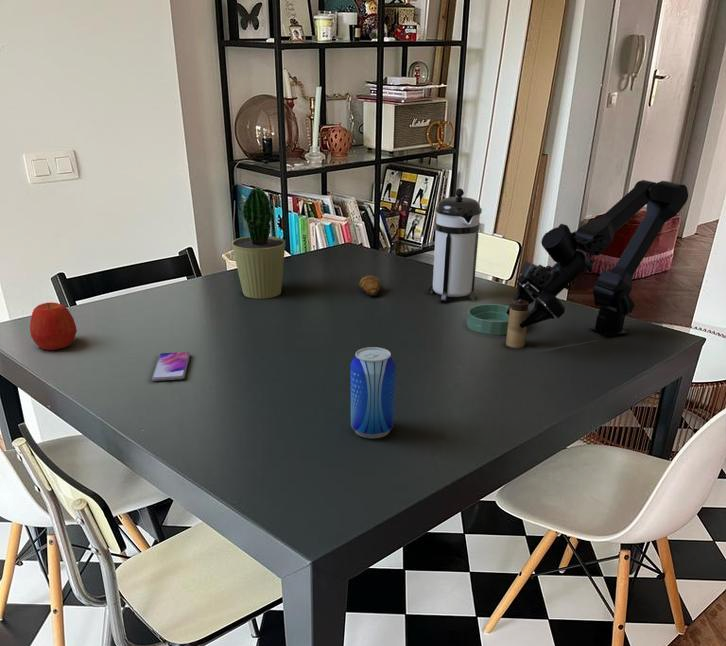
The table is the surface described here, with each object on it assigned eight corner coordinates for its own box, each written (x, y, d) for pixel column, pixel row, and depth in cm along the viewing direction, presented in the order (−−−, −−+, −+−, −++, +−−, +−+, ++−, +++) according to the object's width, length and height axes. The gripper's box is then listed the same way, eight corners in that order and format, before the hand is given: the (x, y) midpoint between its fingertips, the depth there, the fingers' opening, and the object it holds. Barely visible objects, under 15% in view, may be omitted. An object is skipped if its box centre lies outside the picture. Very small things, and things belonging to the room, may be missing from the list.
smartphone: (151, 378, 162) (159, 353, 175) (151, 382, 163) (160, 356, 175) (184, 376, 163) (190, 351, 176) (184, 380, 163) (190, 354, 176)
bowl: (500, 315, 202) (501, 301, 200) (531, 332, 191) (533, 317, 189) (456, 322, 197) (457, 308, 195) (485, 340, 186) (487, 324, 184)
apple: (88, 344, 182) (79, 302, 176) (46, 356, 175) (36, 313, 169) (66, 334, 188) (57, 293, 182) (25, 345, 181) (15, 303, 176)
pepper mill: (513, 341, 185) (518, 295, 179) (528, 346, 182) (534, 299, 176) (501, 345, 183) (507, 298, 176) (516, 350, 180) (522, 303, 174)
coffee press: (487, 293, 219) (497, 186, 203) (464, 307, 207) (473, 195, 191) (436, 283, 227) (442, 180, 211) (410, 297, 215) (415, 189, 199)
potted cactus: (243, 283, 226) (235, 180, 210) (292, 286, 224) (288, 181, 208) (229, 299, 213) (219, 190, 197) (281, 302, 211) (275, 191, 195)
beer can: (349, 421, 147) (348, 345, 139) (390, 419, 148) (392, 344, 139) (352, 441, 140) (352, 363, 132) (396, 439, 141) (398, 361, 132)
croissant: (385, 297, 215) (385, 280, 212) (362, 299, 214) (362, 282, 211) (376, 284, 226) (377, 268, 223) (355, 285, 225) (355, 269, 222)
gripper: (529, 239, 179) (481, 286, 183) (559, 260, 163) (506, 311, 167) (555, 270, 184) (508, 315, 188) (586, 293, 168) (535, 341, 173)
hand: (513, 320), depth 179 cm, fingers open, 9 cm apart
